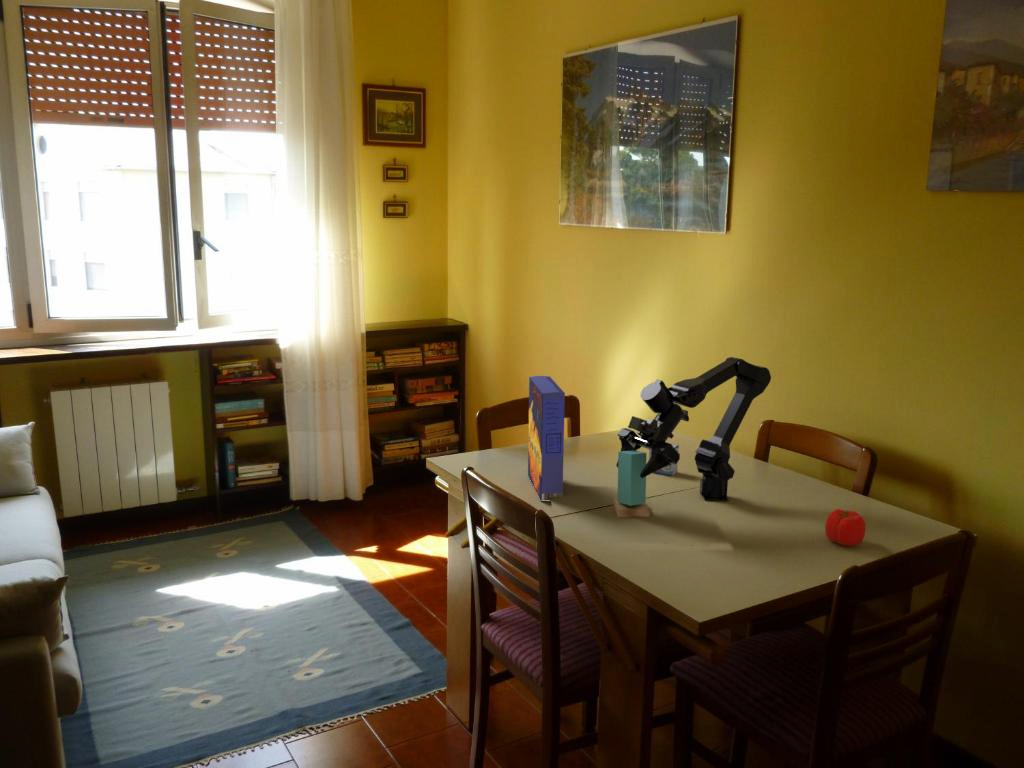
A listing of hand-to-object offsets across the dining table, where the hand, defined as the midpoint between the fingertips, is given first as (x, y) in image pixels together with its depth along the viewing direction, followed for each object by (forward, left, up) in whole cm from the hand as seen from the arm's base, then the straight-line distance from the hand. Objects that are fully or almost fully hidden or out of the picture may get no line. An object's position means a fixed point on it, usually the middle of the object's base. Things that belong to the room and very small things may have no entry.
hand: (629, 471), depth 213 cm
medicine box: (-16, -38, -12) cm, 43 cm away
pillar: (-1, -1, -8) cm, 9 cm away
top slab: (-1, -1, -11) cm, 11 cm away
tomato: (-49, +16, -12) cm, 53 cm away
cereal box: (+20, -23, -12) cm, 33 cm away
